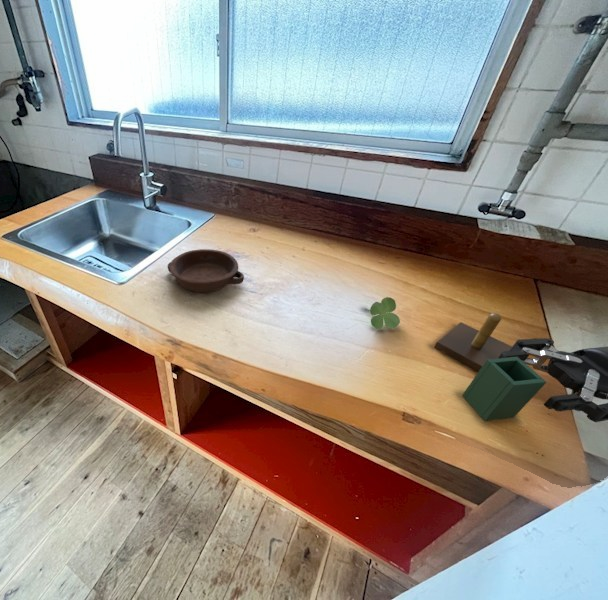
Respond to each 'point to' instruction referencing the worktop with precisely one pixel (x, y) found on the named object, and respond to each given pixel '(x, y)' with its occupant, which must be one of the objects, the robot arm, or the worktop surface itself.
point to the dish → (205, 270)
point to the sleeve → (502, 388)
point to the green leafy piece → (384, 314)
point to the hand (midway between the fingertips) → (523, 379)
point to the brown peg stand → (473, 343)
